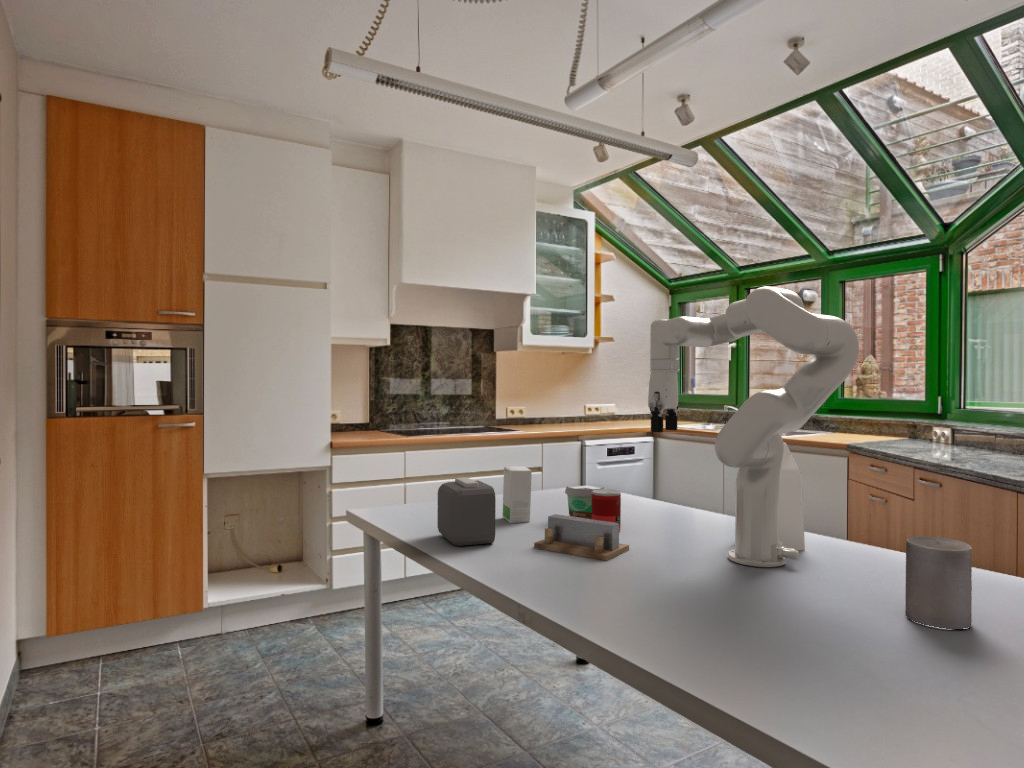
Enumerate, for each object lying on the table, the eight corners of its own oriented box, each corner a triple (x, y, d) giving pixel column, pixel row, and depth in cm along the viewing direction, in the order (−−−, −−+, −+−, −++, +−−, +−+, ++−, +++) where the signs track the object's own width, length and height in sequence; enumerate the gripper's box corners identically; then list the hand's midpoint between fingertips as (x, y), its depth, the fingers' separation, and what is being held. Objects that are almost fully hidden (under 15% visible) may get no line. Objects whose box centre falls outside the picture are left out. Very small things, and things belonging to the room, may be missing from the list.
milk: (789, 539, 172) (790, 440, 172) (804, 550, 161) (805, 444, 161) (743, 537, 173) (743, 440, 173) (754, 548, 162) (755, 444, 162)
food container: (560, 522, 191) (560, 488, 191) (565, 518, 197) (565, 485, 197) (602, 525, 188) (602, 490, 188) (605, 520, 194) (606, 487, 193)
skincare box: (502, 517, 197) (502, 466, 197) (522, 516, 199) (523, 465, 199) (510, 523, 189) (510, 469, 189) (531, 522, 191) (532, 469, 191)
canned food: (622, 534, 176) (622, 493, 176) (592, 534, 177) (593, 493, 177) (618, 528, 184) (618, 489, 184) (590, 527, 184) (590, 488, 184)
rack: (629, 549, 160) (629, 530, 160) (606, 560, 150) (606, 540, 150) (559, 538, 172) (559, 520, 172) (534, 547, 162) (534, 528, 162)
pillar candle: (910, 607, 120) (909, 526, 120) (974, 619, 114) (974, 533, 114) (900, 622, 113) (900, 536, 112) (969, 636, 106) (969, 545, 106)
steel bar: (547, 540, 164) (548, 516, 164) (555, 537, 167) (555, 514, 167) (612, 551, 154) (612, 525, 154) (618, 548, 157) (619, 523, 157)
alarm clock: (495, 545, 164) (495, 483, 164) (451, 549, 160) (452, 486, 160) (474, 531, 179) (475, 474, 179) (434, 534, 175) (434, 476, 175)
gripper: (663, 367, 182) (663, 428, 182) (637, 365, 168) (637, 432, 168) (690, 367, 177) (689, 429, 177) (665, 365, 163) (665, 433, 163)
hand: (664, 431), depth 173 cm, fingers open, 9 cm apart
